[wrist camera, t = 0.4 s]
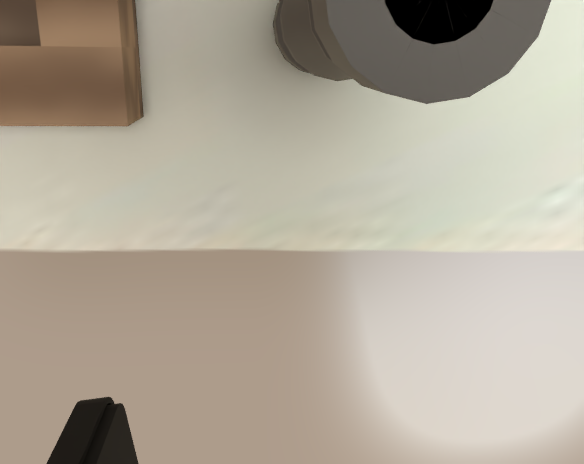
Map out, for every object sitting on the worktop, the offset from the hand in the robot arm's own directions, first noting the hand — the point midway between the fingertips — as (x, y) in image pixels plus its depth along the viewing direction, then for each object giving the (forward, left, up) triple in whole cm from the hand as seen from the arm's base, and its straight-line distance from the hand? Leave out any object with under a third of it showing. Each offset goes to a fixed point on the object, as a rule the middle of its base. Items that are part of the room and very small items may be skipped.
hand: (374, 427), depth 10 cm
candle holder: (-8, +2, -31) cm, 32 cm away
